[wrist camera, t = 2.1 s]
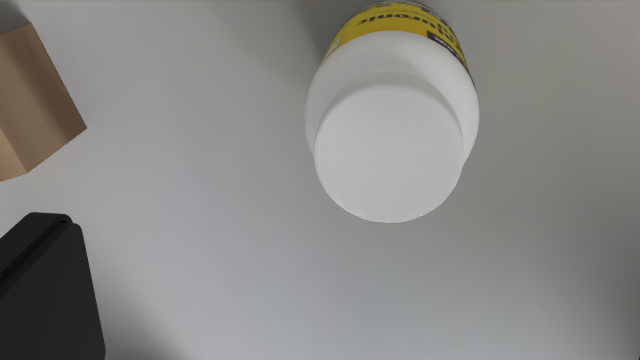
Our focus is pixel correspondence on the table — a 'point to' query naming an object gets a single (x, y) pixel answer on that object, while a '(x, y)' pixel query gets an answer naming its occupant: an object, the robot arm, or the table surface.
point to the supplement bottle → (391, 113)
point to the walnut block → (31, 104)
